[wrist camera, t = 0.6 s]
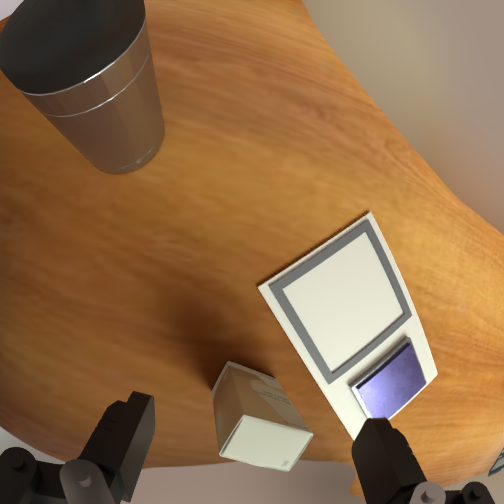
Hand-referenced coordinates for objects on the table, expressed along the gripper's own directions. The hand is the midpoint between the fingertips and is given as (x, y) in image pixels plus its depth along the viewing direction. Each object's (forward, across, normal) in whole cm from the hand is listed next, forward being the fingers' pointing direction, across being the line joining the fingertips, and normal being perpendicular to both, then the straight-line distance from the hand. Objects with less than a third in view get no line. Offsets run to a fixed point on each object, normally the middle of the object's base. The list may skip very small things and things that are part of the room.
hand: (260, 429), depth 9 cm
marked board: (+22, -15, +8) cm, 28 cm away
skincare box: (+19, -1, +13) cm, 23 cm away
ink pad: (+21, -20, +13) cm, 32 cm away
